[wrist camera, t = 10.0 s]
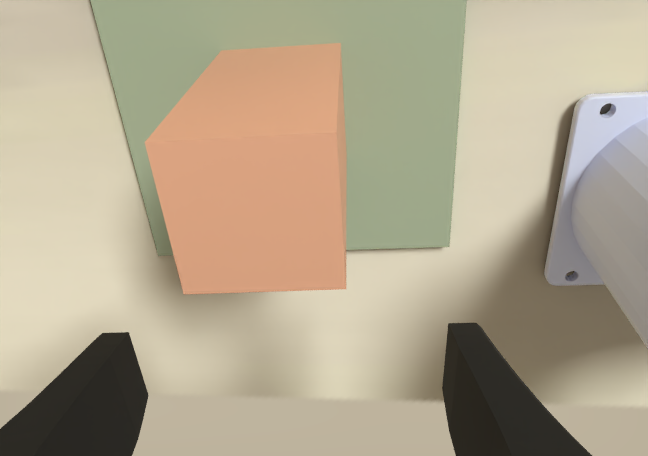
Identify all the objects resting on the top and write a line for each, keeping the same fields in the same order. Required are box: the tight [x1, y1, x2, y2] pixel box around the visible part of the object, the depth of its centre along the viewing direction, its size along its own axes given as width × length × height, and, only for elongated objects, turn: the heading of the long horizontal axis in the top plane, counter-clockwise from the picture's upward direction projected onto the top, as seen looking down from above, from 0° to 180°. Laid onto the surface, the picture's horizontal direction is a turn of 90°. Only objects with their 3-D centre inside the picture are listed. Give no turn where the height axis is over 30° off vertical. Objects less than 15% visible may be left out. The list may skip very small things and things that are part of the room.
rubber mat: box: [90, 0, 467, 256], centre depth 19 cm, size 12×12×1 cm
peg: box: [145, 43, 347, 294], centre depth 16 cm, size 4×4×8 cm
